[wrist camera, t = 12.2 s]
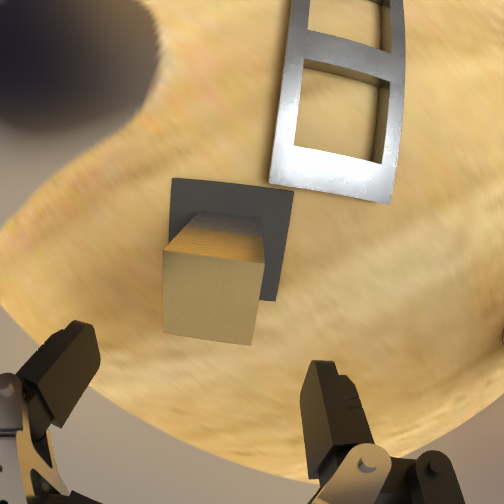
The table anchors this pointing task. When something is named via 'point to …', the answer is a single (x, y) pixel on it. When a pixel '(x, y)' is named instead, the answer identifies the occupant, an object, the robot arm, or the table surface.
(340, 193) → the grey slotted frame
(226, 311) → the block
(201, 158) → the table surface
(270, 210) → the mat
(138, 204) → the table surface
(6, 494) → the robot arm
